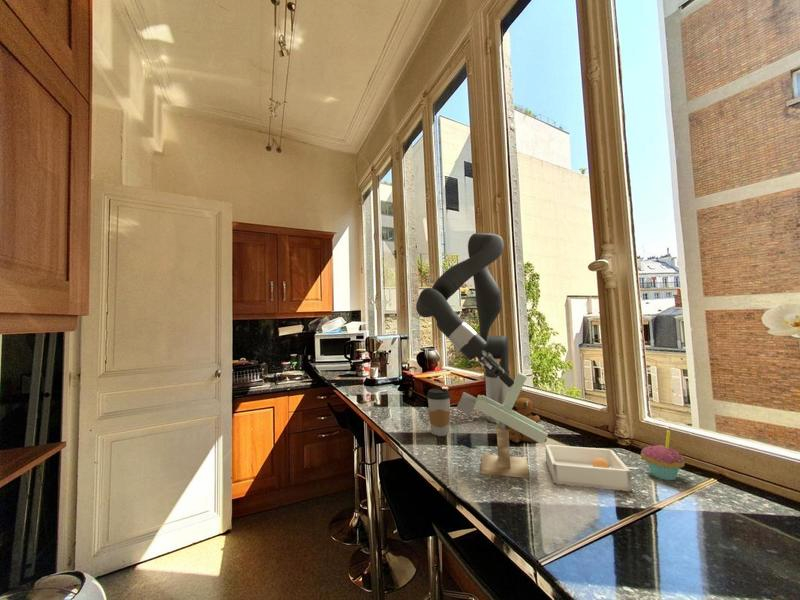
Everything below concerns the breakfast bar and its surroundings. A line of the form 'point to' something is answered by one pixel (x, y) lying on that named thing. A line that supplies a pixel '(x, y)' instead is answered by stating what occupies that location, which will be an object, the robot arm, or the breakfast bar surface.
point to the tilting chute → (505, 411)
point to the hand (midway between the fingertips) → (511, 384)
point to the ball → (600, 463)
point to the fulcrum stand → (504, 459)
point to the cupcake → (663, 460)
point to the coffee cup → (439, 411)
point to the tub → (587, 468)
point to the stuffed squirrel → (525, 410)
